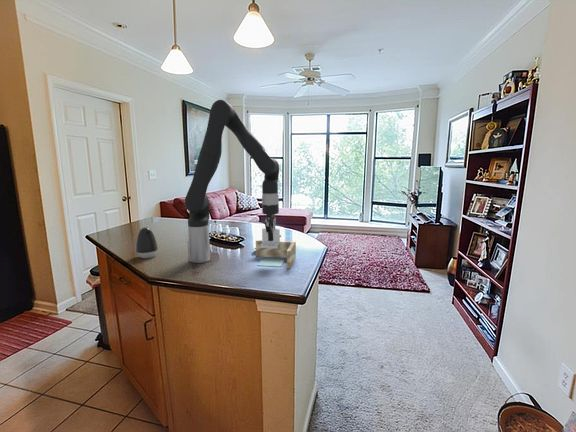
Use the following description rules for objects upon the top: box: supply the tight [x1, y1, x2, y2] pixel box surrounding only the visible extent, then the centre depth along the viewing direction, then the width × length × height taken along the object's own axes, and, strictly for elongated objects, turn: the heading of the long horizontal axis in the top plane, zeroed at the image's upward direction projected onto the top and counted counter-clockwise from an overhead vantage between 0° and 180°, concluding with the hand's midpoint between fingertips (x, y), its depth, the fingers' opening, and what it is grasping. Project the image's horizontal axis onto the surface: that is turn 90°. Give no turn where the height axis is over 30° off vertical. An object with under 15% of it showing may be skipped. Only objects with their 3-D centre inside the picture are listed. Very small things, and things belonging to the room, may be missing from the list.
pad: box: [257, 258, 285, 268], centre depth 136 cm, size 11×9×1 cm
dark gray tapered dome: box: [134, 226, 159, 259], centre depth 145 cm, size 10×10×15 cm
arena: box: [255, 239, 297, 269], centre depth 137 cm, size 20×17×8 cm
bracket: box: [260, 227, 281, 249], centre depth 132 cm, size 8×5×8 cm, turn 80°
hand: (271, 240), depth 134 cm, fingers closed on bracket, 1 cm apart
